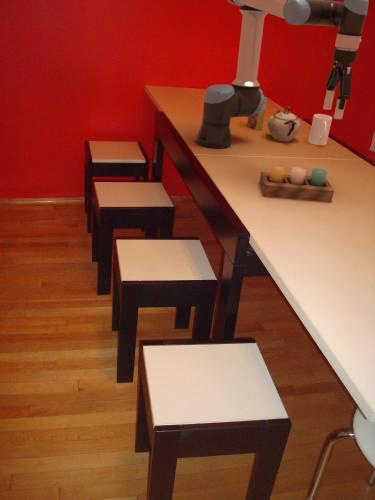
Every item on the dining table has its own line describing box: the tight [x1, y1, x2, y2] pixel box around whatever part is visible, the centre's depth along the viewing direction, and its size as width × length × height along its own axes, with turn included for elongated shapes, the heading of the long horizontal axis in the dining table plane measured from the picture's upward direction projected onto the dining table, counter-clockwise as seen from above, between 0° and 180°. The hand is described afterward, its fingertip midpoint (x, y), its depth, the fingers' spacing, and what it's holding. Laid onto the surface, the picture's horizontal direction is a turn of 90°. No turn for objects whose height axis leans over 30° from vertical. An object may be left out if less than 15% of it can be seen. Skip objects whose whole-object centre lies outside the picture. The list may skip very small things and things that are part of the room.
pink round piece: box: [289, 166, 307, 185], centre depth 168 cm, size 5×5×5 cm
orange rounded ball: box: [269, 164, 286, 183], centre depth 168 cm, size 5×5×5 cm
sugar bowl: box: [267, 105, 302, 142], centre depth 223 cm, size 20×15×15 cm
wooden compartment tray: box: [258, 171, 335, 203], centre depth 170 cm, size 23×12×4 cm, turn 90°
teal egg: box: [309, 168, 328, 187], centre depth 168 cm, size 5×5×5 cm
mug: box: [307, 113, 333, 147], centre depth 222 cm, size 12×8×12 cm
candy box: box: [246, 96, 268, 131], centre depth 236 cm, size 9×4×15 cm, turn 23°
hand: (332, 113), depth 174 cm, fingers open, 13 cm apart
